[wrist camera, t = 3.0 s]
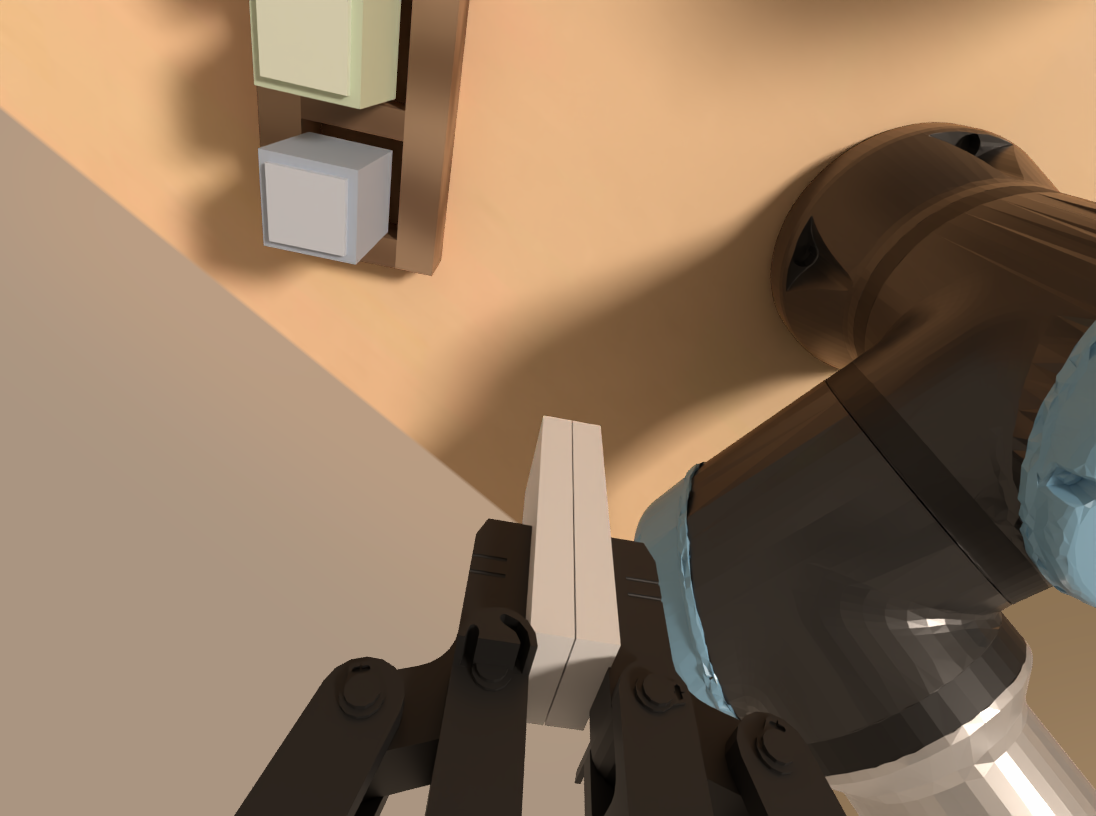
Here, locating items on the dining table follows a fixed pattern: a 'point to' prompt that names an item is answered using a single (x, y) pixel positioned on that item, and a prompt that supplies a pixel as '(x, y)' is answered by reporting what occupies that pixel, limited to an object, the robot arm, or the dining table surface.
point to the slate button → (324, 196)
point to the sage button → (327, 49)
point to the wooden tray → (399, 132)
